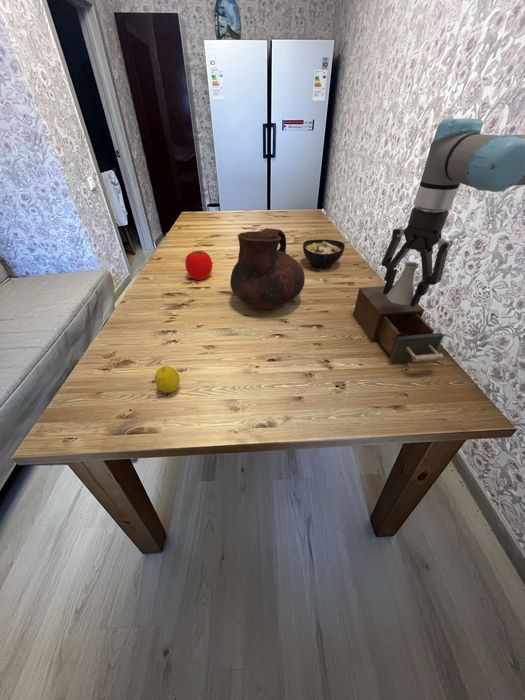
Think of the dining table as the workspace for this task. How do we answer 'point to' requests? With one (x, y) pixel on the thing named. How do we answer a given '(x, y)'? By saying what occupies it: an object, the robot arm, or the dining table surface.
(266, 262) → the jug
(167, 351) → the dining table surface
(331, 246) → the bowl
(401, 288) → the flask
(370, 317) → the cabinet
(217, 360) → the dining table surface
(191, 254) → the tomato
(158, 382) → the fruit
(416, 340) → the drawer
